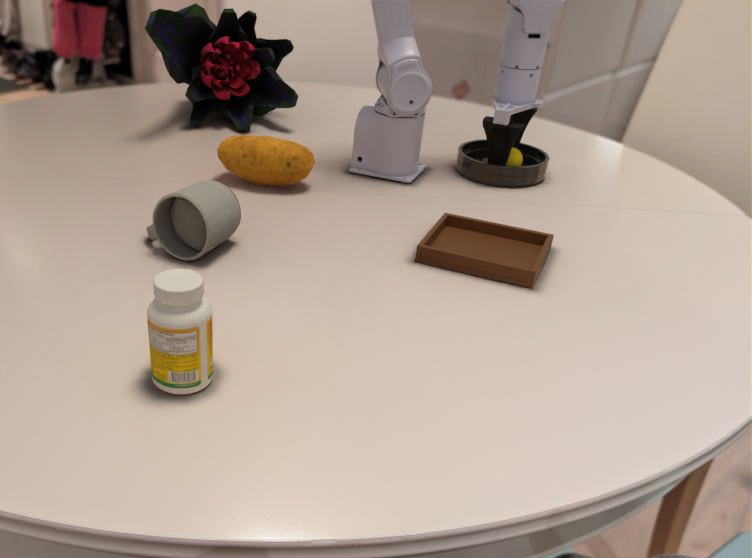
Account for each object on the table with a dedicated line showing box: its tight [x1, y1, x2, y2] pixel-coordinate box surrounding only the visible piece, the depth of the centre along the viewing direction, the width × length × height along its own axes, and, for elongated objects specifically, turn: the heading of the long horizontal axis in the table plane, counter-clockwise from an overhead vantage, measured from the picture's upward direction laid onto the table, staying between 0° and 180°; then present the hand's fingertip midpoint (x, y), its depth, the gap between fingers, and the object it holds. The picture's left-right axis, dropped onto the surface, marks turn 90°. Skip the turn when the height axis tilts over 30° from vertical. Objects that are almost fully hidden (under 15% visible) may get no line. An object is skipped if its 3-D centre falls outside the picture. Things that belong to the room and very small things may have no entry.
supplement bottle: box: [146, 268, 214, 395], centre depth 62 cm, size 5×5×10 cm
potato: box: [216, 134, 316, 187], centre depth 103 cm, size 8×14×7 cm, turn 65°
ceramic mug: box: [146, 180, 242, 262], centre depth 85 cm, size 11×8×8 cm
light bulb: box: [481, 147, 523, 167], centre depth 110 cm, size 3×6×4 cm, turn 71°
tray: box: [414, 212, 555, 289], centre depth 86 cm, size 13×11×2 cm
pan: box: [455, 138, 550, 188], centre depth 110 cm, size 13×13×3 cm
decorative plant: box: [144, 3, 299, 133], centre depth 123 cm, size 21×26×30 cm
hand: (501, 161), depth 110 cm, fingers open, 7 cm apart
